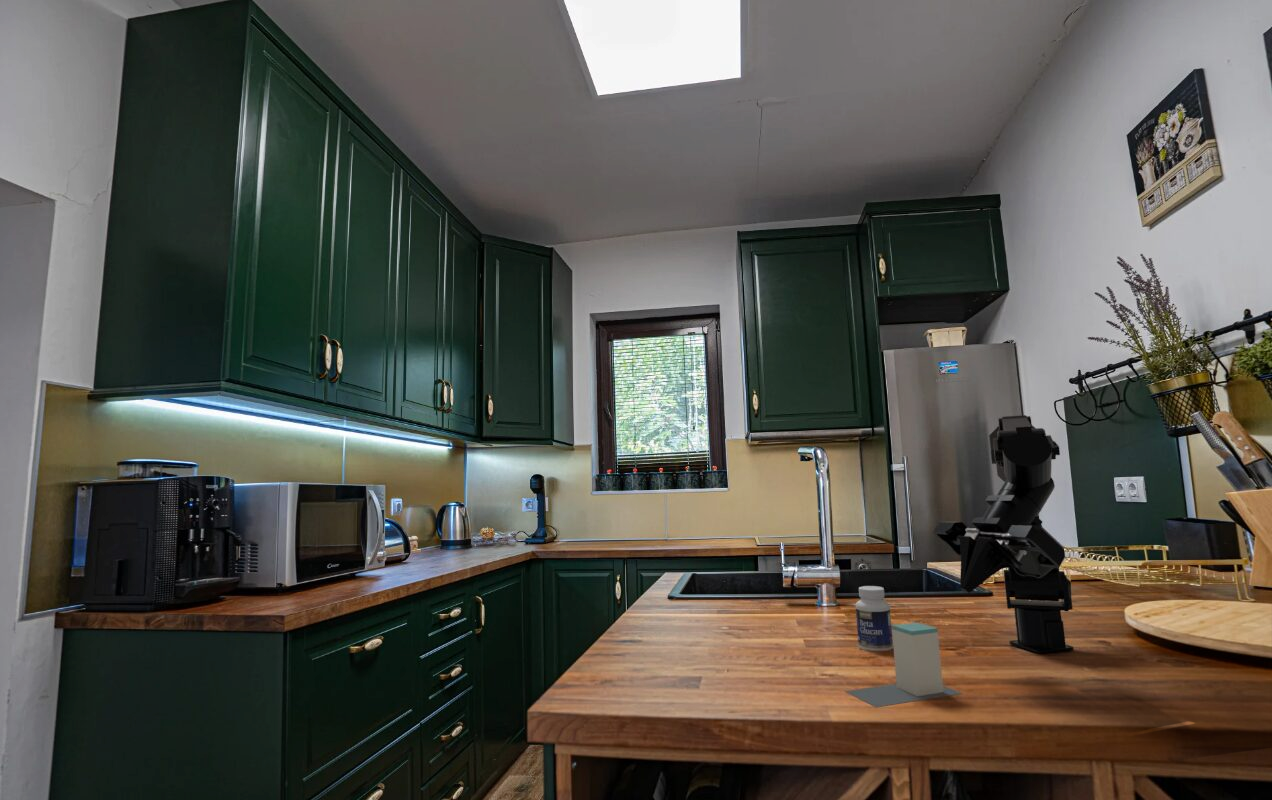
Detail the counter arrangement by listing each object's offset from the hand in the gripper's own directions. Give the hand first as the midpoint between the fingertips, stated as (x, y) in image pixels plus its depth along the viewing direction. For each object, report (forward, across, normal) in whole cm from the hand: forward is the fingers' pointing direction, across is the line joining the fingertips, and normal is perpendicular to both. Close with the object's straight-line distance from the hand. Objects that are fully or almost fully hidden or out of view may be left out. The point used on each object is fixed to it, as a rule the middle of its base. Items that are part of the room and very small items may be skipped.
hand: (964, 590), depth 91 cm
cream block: (+15, 0, -2) cm, 15 cm away
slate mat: (+17, 0, 0) cm, 17 cm away
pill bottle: (+10, +21, -7) cm, 24 cm away
